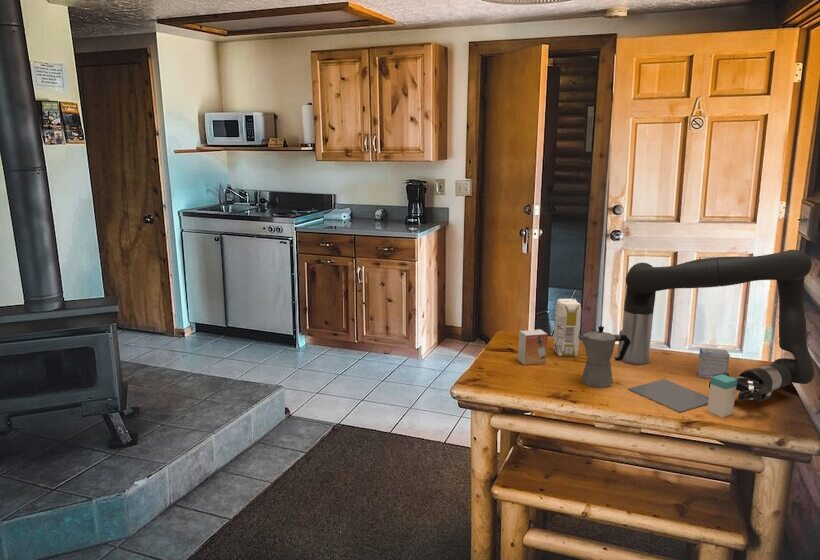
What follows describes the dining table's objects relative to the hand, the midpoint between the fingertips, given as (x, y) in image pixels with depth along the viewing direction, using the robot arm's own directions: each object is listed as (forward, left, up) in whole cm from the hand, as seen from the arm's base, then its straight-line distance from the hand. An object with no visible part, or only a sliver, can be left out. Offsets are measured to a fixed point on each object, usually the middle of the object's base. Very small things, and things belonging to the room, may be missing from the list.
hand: (724, 391), depth 164 cm
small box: (-55, -21, -6) cm, 59 cm away
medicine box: (-18, +21, -6) cm, 28 cm away
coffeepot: (-31, -14, -6) cm, 35 cm away
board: (-14, -3, -6) cm, 15 cm away
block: (0, -1, -6) cm, 6 cm away
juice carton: (-56, -5, -6) cm, 57 cm away
